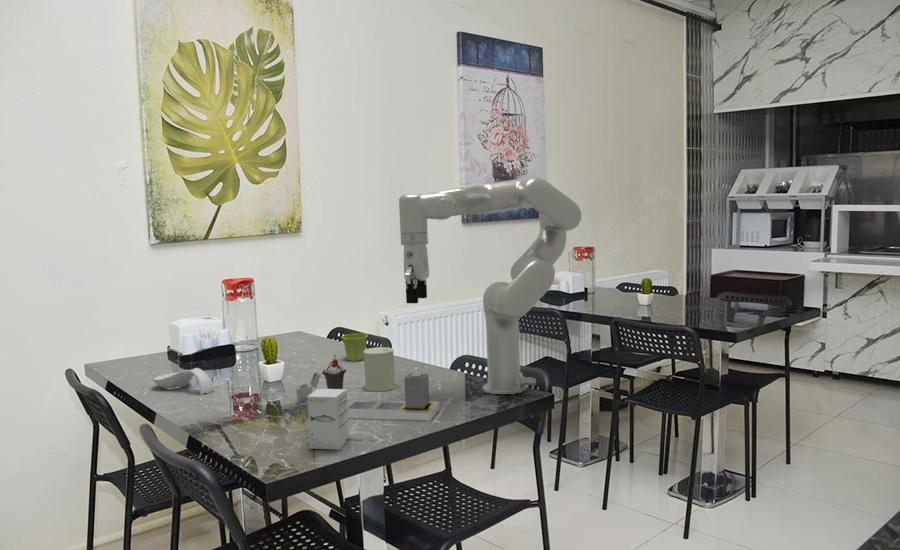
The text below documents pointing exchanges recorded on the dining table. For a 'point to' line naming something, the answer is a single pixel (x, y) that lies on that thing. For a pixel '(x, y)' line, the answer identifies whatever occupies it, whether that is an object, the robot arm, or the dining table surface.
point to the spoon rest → (185, 380)
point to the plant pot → (355, 346)
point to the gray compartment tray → (389, 410)
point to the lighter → (307, 389)
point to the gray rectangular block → (417, 392)
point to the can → (379, 369)
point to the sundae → (334, 375)
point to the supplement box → (328, 418)
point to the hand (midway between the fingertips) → (417, 300)
